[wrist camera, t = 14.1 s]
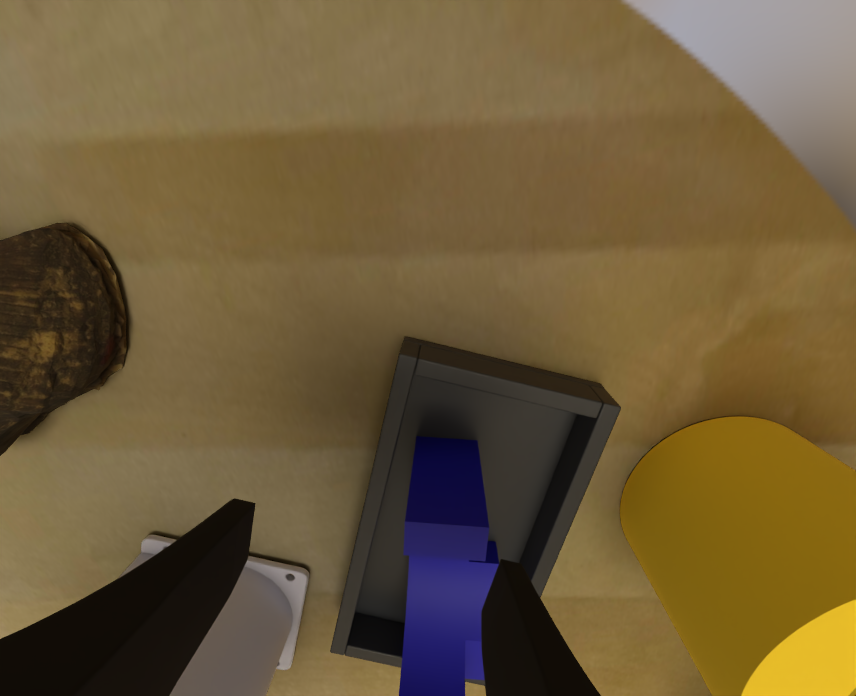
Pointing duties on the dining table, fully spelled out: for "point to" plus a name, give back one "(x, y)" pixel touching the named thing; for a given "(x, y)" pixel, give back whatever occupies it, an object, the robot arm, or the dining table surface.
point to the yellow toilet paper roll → (751, 555)
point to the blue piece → (445, 568)
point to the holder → (501, 470)
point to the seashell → (54, 324)
